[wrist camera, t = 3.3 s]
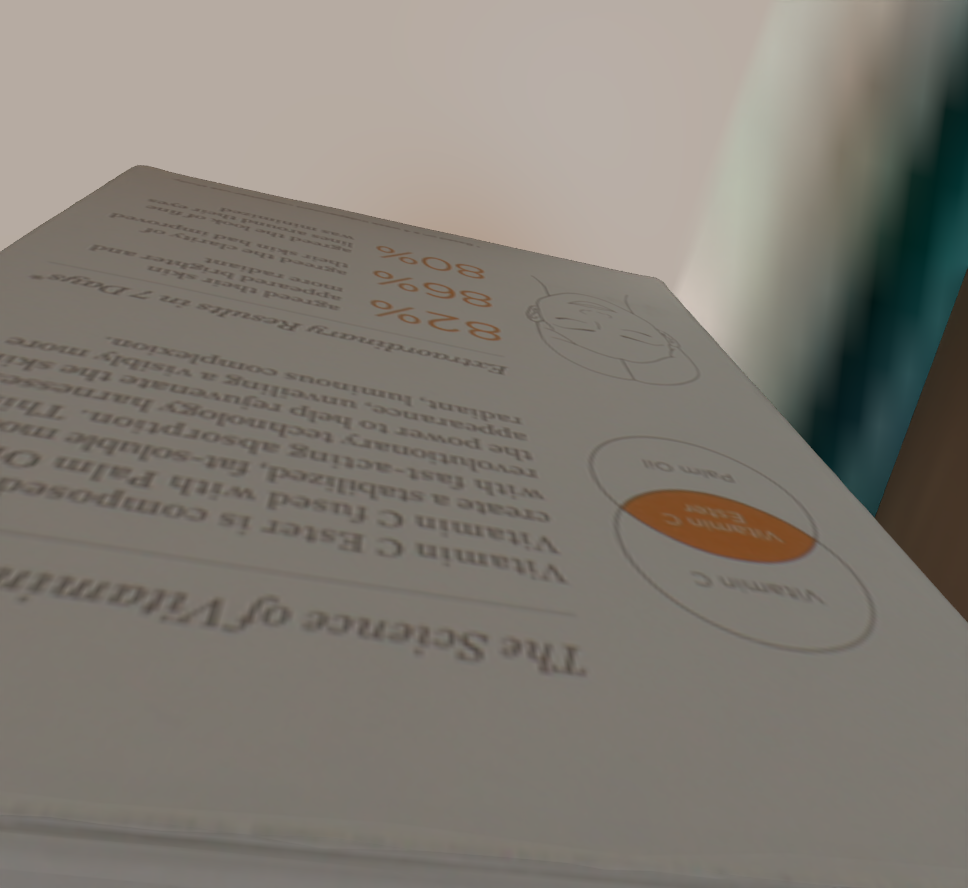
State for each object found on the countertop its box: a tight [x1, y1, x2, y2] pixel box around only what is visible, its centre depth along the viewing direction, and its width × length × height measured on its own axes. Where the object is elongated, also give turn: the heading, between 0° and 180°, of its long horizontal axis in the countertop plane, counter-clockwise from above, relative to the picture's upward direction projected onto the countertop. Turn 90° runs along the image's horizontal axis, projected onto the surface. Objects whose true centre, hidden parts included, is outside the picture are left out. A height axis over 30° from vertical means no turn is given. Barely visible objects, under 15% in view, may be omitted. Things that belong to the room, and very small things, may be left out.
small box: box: [0, 165, 968, 888], centre depth 9 cm, size 8×6×10 cm
